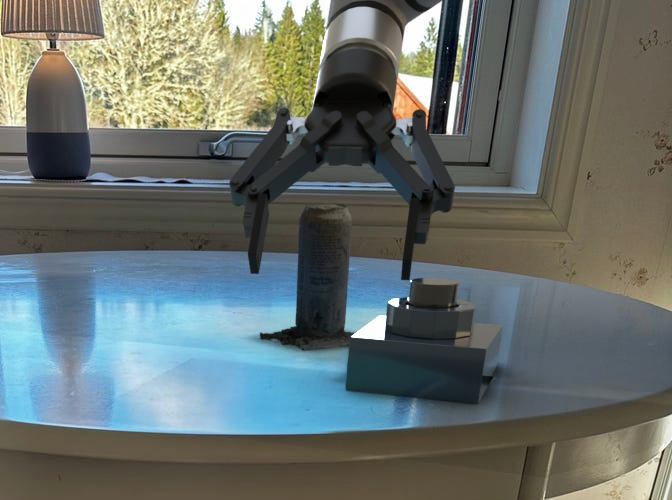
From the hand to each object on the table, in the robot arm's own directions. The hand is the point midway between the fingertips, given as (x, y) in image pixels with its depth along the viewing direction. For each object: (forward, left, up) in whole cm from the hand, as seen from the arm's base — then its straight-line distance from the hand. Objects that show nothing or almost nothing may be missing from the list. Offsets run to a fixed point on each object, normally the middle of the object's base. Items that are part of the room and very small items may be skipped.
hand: (328, 267), depth 85 cm
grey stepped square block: (-11, +11, -7) cm, 17 cm away
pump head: (-11, +11, -1) cm, 16 cm away
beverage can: (0, +2, -7) cm, 7 cm away
